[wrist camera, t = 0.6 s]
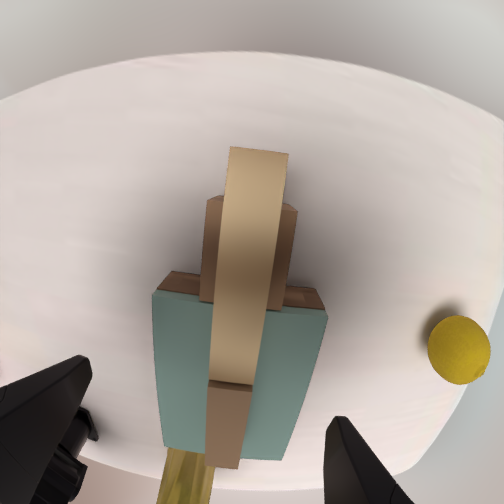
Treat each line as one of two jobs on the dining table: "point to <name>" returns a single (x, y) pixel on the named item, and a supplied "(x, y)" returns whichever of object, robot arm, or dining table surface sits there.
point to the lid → (228, 393)
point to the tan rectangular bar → (245, 261)
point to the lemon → (459, 349)
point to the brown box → (278, 289)
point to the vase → (185, 478)
